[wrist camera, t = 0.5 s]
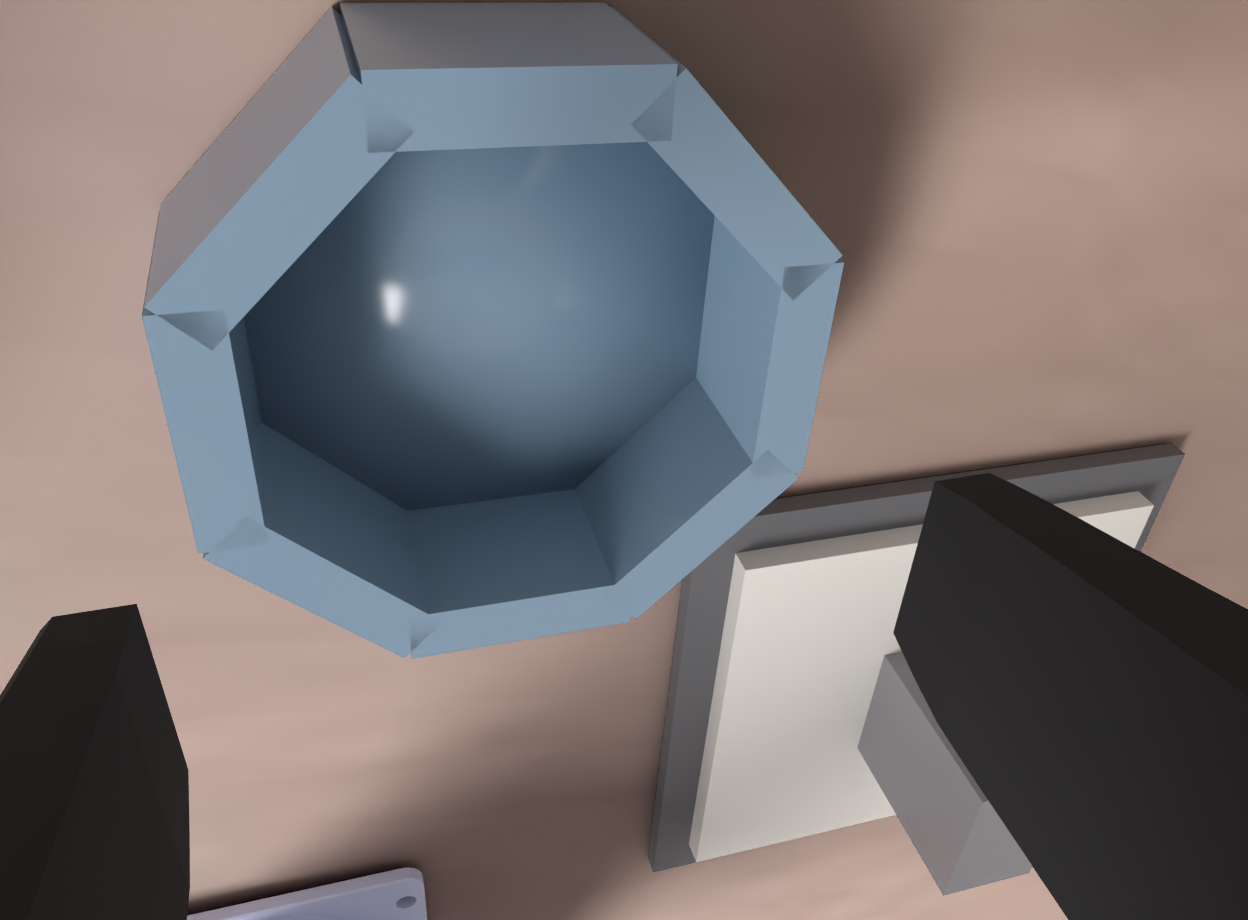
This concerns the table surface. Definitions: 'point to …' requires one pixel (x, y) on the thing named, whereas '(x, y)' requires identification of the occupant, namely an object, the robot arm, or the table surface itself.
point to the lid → (846, 708)
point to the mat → (827, 520)
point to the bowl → (482, 325)
